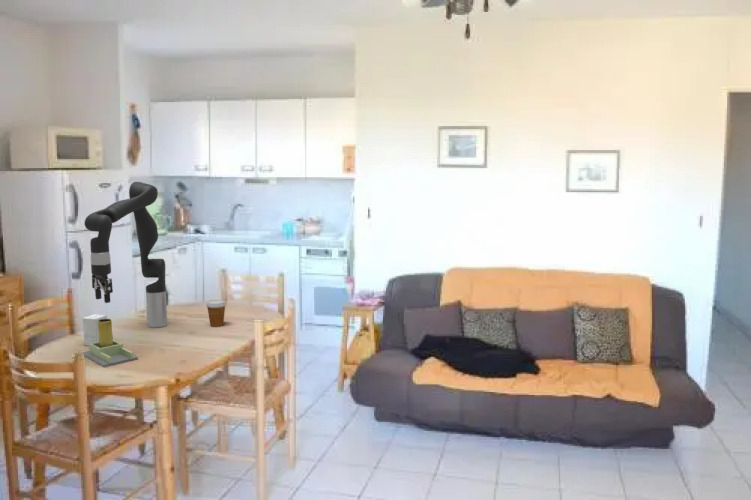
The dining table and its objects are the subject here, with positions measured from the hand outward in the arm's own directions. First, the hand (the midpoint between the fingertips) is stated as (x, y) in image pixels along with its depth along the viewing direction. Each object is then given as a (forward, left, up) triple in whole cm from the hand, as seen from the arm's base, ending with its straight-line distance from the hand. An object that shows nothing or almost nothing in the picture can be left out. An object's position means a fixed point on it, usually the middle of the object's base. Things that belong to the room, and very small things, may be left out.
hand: (103, 300), depth 275 cm
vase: (0, 0, -23) cm, 23 cm away
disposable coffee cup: (-8, +59, -24) cm, 64 cm away
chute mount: (+3, 0, -24) cm, 24 cm away
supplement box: (-19, +4, -24) cm, 31 cm away
